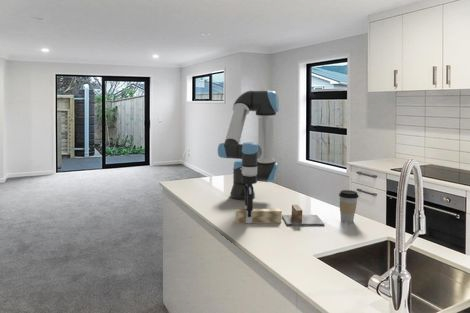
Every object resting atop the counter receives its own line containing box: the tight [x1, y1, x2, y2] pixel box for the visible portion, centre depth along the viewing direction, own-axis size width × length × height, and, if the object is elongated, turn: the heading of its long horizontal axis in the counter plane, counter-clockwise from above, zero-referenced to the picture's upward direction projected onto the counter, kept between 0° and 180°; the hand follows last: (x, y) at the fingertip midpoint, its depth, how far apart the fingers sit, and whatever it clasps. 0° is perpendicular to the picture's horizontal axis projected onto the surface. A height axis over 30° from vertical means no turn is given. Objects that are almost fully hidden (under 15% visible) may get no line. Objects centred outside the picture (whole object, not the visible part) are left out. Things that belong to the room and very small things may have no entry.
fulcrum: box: [281, 204, 325, 227], centre depth 187 cm, size 18×14×7 cm
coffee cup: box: [338, 189, 360, 224], centre depth 187 cm, size 9×9×15 cm
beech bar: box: [235, 208, 283, 224], centre depth 186 cm, size 22×4×6 cm, turn 94°
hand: (248, 220), depth 186 cm, fingers open, 6 cm apart
